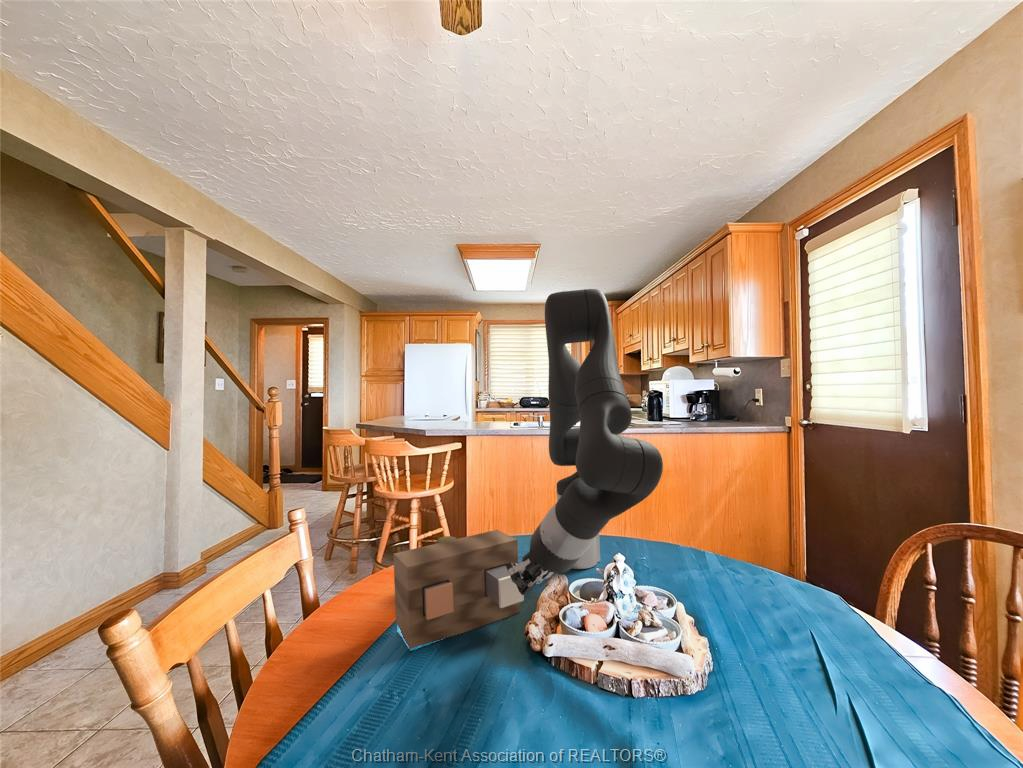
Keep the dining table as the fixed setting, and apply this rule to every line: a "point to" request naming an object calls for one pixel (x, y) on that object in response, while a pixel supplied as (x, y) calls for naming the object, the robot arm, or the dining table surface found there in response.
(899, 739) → the dining table surface
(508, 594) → the cream button
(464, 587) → the walnut panel
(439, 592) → the terracotta button
